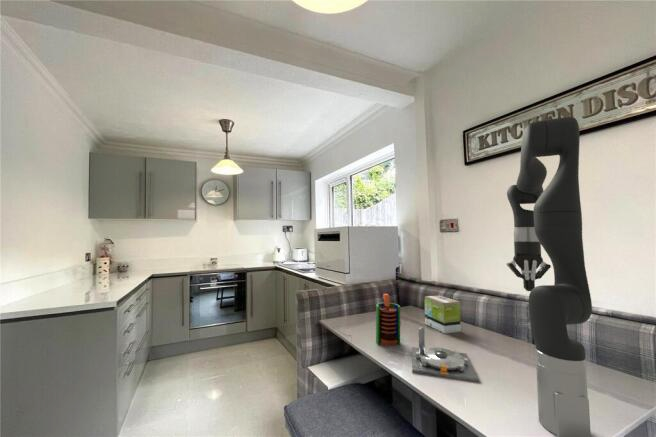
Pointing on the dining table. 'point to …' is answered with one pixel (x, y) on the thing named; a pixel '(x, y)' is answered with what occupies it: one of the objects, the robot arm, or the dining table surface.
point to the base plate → (466, 374)
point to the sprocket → (439, 356)
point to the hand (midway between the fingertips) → (529, 290)
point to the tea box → (442, 314)
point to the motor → (387, 323)
